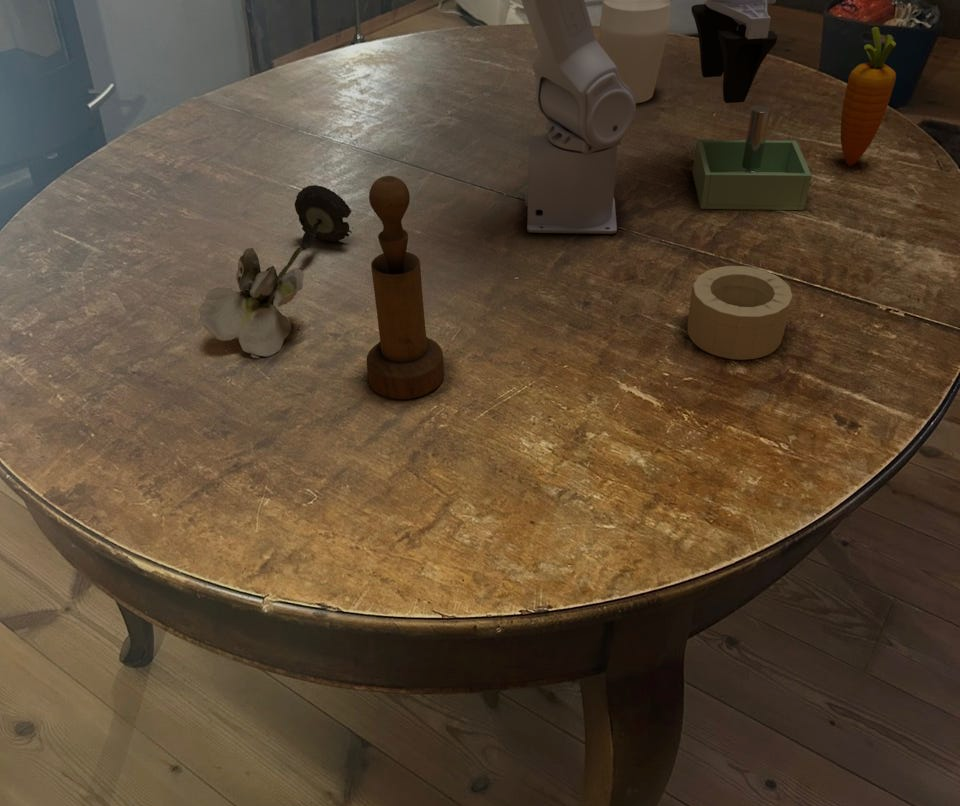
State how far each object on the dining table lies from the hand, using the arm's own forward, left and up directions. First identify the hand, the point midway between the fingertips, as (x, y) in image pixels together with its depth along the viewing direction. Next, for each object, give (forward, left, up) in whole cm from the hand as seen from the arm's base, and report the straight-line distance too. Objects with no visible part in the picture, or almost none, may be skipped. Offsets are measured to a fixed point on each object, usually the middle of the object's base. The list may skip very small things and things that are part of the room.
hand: (722, 88), depth 100 cm
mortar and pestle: (-30, -40, -11) cm, 51 cm away
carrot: (+17, +4, -11) cm, 20 cm away
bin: (+4, -3, -10) cm, 11 cm away
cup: (-8, +26, -11) cm, 29 cm away
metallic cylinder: (+4, -3, -10) cm, 11 cm away
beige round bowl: (-1, -32, -10) cm, 33 cm away
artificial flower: (-43, -27, -11) cm, 52 cm away
